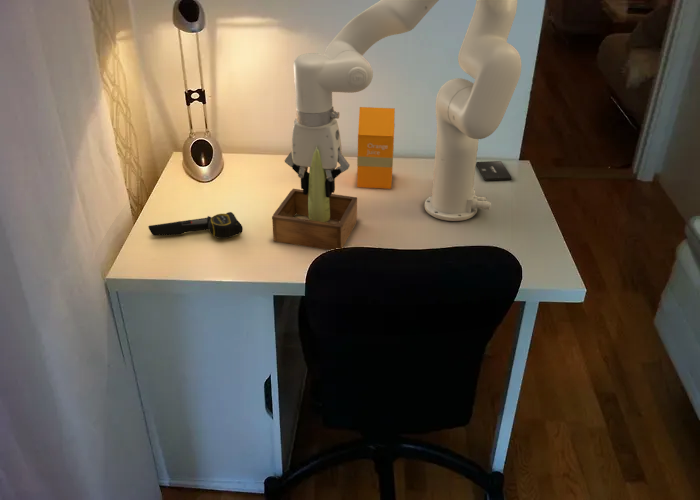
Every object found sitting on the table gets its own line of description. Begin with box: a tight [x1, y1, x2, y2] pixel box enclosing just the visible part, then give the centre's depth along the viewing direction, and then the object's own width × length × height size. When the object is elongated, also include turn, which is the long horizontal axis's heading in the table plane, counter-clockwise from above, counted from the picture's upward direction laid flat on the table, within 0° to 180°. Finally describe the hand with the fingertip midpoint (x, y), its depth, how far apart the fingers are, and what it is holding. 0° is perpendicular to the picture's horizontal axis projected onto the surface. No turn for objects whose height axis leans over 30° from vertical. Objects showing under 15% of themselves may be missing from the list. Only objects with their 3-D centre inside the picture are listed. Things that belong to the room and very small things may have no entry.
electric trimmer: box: [147, 216, 212, 237], centre depth 157 cm, size 4×16×3 cm, turn 105°
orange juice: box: [356, 106, 396, 190], centre depth 174 cm, size 8×9×20 cm
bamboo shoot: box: [308, 146, 331, 223], centre depth 152 cm, size 6×5×20 cm
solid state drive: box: [476, 160, 513, 182], centre depth 185 cm, size 7×10×1 cm
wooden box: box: [271, 188, 358, 251], centre depth 157 cm, size 16×14×6 cm
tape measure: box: [208, 211, 243, 239], centre depth 156 cm, size 7×7×4 cm
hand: (318, 192), depth 153 cm, fingers closed on bamboo shoot, 4 cm apart
